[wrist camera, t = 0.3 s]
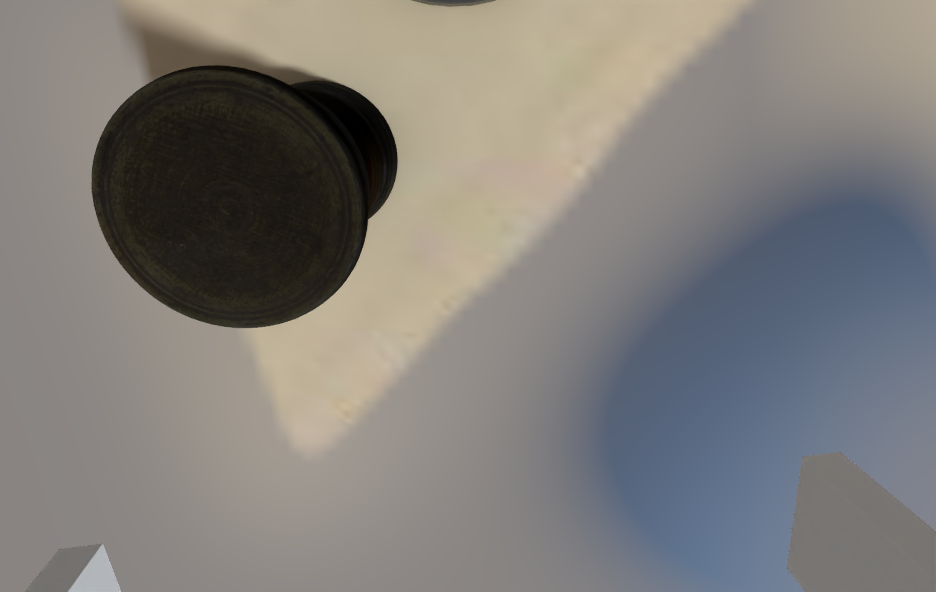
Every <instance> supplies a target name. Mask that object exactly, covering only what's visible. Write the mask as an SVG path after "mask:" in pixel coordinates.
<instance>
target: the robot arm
mask: <svg viewBox="0 0 936 592" xmlns="http://www.w3.org/2000/svg"><path fill="white" fill-rule="evenodd" d="M787 569H788V570H789V571H790V572H791V574H792V575H793V576H794V578H795V579H796V580H797V582H798V583H799V584H800V585H801V587H802V588H803V589H804V590H805V592H936V531H935V530H934V529H932V528H931V527H930V526H929V525H927V524H926V523H925V522H924V521H923V520H921V519H920V518H919V517H918V516H916V514H914V513H913V512H912V511H911V510H910V509H908V508H907V507H906V506H904V504H902V503H901V502H900V501H899V500H898V499H896V498H895V497H894V496H893V495H892V494H890V493H889V492H888V491H887V490H886V489H884V488H883V487H882V486H881V485H879V484H878V483H877V482H876V481H875V480H874V479H872V478H871V477H870V476H869V475H868V474H866V473H865V472H864V471H863V470H861V469H860V468H859V467H858V466H857V465H855V464H854V463H853V462H852V461H851V460H849V459H848V458H847V457H846V456H845V455H843V454H842V453H841V452H837V453H830V454H821V455H813V456H805V457H802V462H801V469H800V476H799V484H798V492H797V499H796V506H795V513H794V521H793V528H792V536H791V543H790V550H789V558H788V565H787ZM25 592H121V590H120V588H119V585H118V582H117V580H116V577H115V574H114V572H113V570H112V567H111V564H110V561H109V559H108V557H107V554H106V551H105V549H104V546H103V544H97V545H89V546H81V547H72V548H65V549H59V550H58V551H57V553H56V554H55V555H54V556H53V558H52V559H51V560H50V561H49V562H48V564H47V565H46V566H45V567H44V569H43V570H42V571H41V572H40V573H39V575H38V576H37V577H36V578H35V580H34V581H33V582H32V583H31V585H30V586H29V587H28V588H27V590H26V591H25Z"/></svg>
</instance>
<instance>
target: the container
mask: <svg viewBox="0 0 936 592" xmlns="http://www.w3.org/2000/svg"><path fill="white" fill-rule="evenodd" d="M396 173H397V149H396V144H395V140H394V137H393V134H392V132H391V129H390V127H389V125H388V123H387V121H386V120H385V118H384V117H383V115H382V114H381V113H380V111H379V110H378V109H377V108H376V107H375V106H374V105H373V104H372V103H371V102H370V101H369V100H368V99H367V98H365V97H364V96H363V95H361V94H360V93H358V92H356V91H355V90H353V89H351V88H349V87H346V86H344V85H340V84H337V83H332V82H326V81H308V82H301V83H295V84H292V85H288V84H286V83H284V82H282V81H280V80H277V79H275V78H273V77H271V76H268V75H265V74H262V73H259V72H256V71H252V70H247V69H244V68H238V67H231V66H198V67H191V68H187V69H182V70H179V71H175V72H172V73H170V74H167V75H164V76H162V77H160V78H158V79H156V80H154V81H152V82H150V83H149V84H147V85H145V86H144V87H142V88H141V89H139V90H138V91H136V92H135V93H134V94H133V95H132V96H130V97H129V98H128V99H127V100H126V101H125V102H124V103H123V104H122V105H121V106H120V107H119V108H118V110H117V111H116V112H115V113H114V115H113V116H112V118H111V119H110V120H109V122H108V124H107V125H106V127H105V129H104V131H103V133H102V135H101V137H100V140H99V142H98V145H97V148H96V152H95V155H94V160H93V167H92V195H93V202H94V207H95V211H96V215H97V218H98V221H99V224H100V227H101V230H102V232H103V235H104V237H105V239H106V241H107V243H108V245H109V247H110V249H111V250H112V252H113V254H114V255H115V257H116V258H117V260H118V261H119V263H120V264H121V265H122V267H123V268H124V269H125V270H126V271H127V273H128V274H129V275H130V276H131V277H132V278H133V279H134V280H135V281H136V282H137V283H138V284H139V285H140V286H141V287H142V288H143V289H144V290H146V291H147V292H148V293H149V294H150V295H152V296H153V297H154V298H156V299H157V300H158V301H160V302H162V303H163V304H165V305H167V306H168V307H169V308H171V309H173V310H175V311H177V312H179V313H181V314H183V315H185V316H188V317H190V318H193V319H196V320H198V321H202V322H205V323H209V324H213V325H218V326H224V327H232V328H257V327H266V326H271V325H276V324H281V323H284V322H287V321H290V320H293V319H296V318H298V317H300V316H302V315H304V314H306V313H308V312H310V311H312V310H314V309H315V308H317V307H318V306H320V305H321V304H323V303H324V302H325V301H326V300H328V299H329V298H330V297H331V296H332V295H333V294H334V293H335V292H336V291H337V290H338V289H339V288H340V287H341V286H342V285H343V284H344V282H345V281H346V280H347V278H348V277H349V275H350V274H351V272H352V271H353V269H354V267H355V265H356V263H357V261H358V259H359V256H360V254H361V251H362V248H363V245H364V241H365V237H366V232H367V225H368V219H369V218H371V217H372V216H373V215H374V214H375V213H376V212H377V211H378V210H379V209H380V208H381V207H382V206H383V204H384V203H385V201H386V200H387V198H388V197H389V195H390V193H391V190H392V188H393V185H394V182H395V178H396Z"/></svg>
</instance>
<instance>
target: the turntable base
mask: <svg viewBox="0 0 936 592" xmlns="http://www.w3.org/2000/svg"><path fill="white" fill-rule="evenodd" d="M413 1H417V2H421V3H425V4H429V5H439V6H449V7H451V6H471V5H477V4H482V3H487V2H492V1H495V0H413Z"/></svg>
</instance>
